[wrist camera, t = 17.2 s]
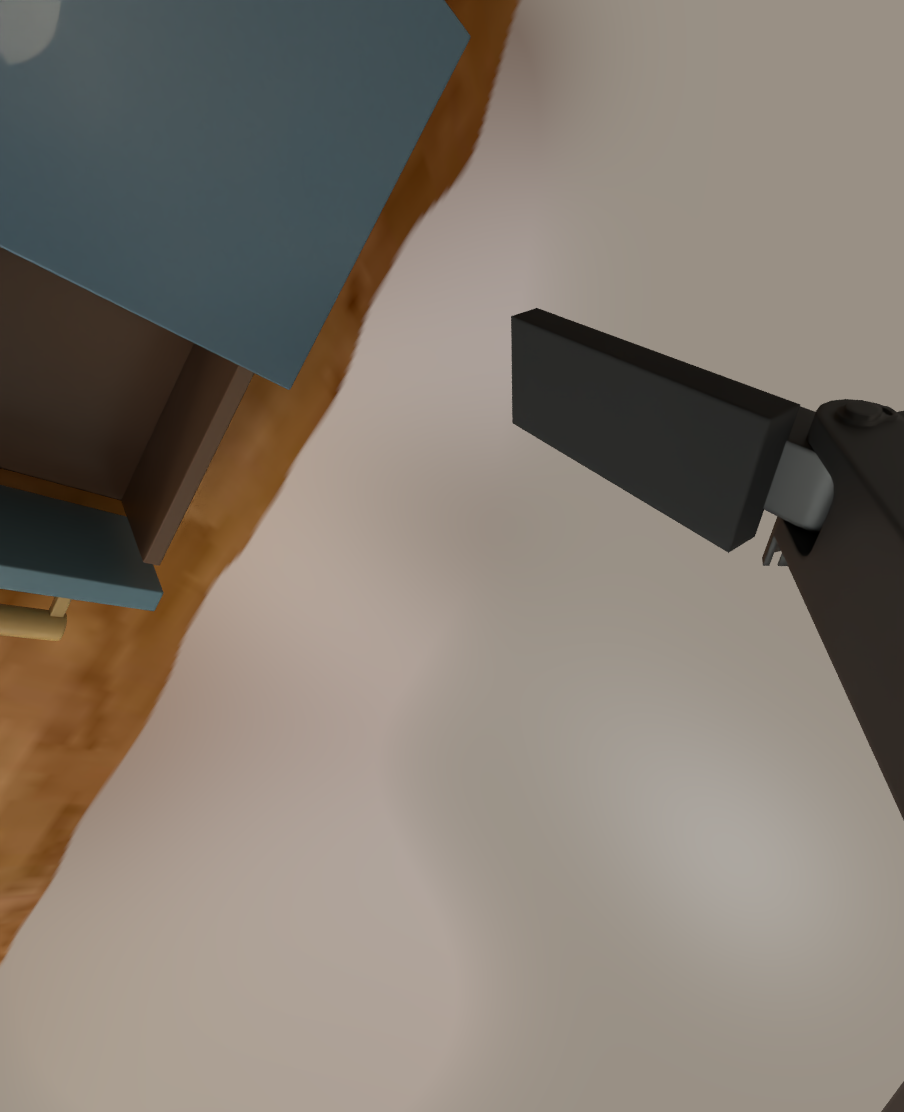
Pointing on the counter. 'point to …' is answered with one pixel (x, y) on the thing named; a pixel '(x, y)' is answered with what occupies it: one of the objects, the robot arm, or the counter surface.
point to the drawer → (97, 443)
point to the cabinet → (213, 153)
